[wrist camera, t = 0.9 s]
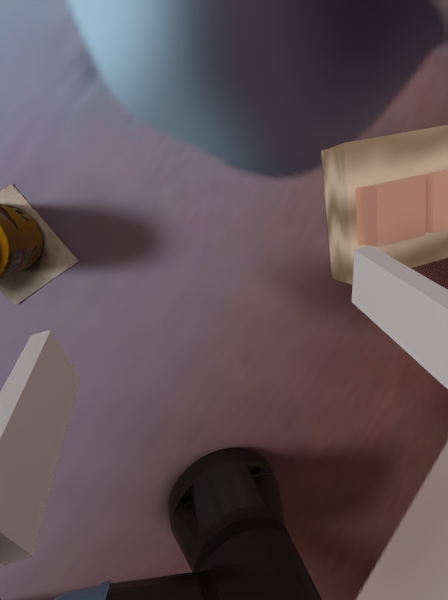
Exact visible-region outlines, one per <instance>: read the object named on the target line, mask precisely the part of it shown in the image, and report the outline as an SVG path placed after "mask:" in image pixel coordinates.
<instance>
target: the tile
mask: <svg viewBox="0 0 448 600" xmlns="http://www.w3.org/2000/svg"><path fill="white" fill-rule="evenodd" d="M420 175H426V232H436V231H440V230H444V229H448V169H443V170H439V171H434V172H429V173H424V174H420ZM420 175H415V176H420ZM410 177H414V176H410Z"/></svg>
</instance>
